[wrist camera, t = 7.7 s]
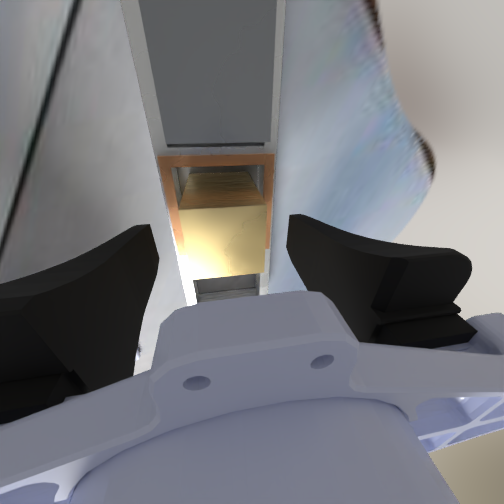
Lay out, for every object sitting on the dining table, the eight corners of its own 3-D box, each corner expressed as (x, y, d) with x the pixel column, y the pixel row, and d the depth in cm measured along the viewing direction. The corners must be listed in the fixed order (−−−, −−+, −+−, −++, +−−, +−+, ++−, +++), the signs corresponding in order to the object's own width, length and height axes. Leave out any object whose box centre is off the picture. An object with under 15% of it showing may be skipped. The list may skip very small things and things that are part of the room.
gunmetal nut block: (182, 129, 14) (165, 144, 8) (169, 40, 11) (134, -19, 6) (246, 128, 14) (270, 142, 9) (246, 44, 12) (277, -8, 7)
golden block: (197, 226, 17) (191, 279, 12) (189, 173, 15) (178, 210, 10) (247, 222, 18) (264, 272, 12) (247, 171, 16) (267, 205, 10)
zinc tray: (191, 300, 21) (190, 318, 19) (129, -6, 10) (112, -30, 8) (262, 292, 22) (267, 308, 20) (275, 5, 11) (288, -15, 9)
